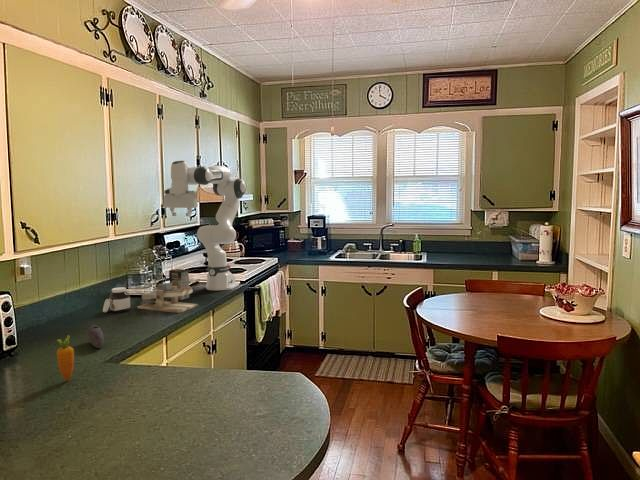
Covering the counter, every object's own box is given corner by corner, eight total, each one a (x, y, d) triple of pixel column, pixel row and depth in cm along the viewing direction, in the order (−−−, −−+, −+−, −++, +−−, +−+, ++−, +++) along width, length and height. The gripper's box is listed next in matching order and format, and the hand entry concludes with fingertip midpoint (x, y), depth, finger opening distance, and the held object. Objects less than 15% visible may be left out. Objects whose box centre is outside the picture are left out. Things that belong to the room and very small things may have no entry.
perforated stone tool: (107, 349, 188) (106, 332, 187) (92, 352, 185) (91, 334, 184) (100, 339, 200) (99, 323, 199) (86, 341, 197) (85, 325, 196)
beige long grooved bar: (153, 300, 260) (151, 288, 260) (193, 297, 250) (191, 284, 249) (143, 303, 253) (140, 291, 253) (183, 300, 242) (181, 288, 242)
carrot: (58, 385, 154) (55, 340, 152) (59, 379, 158) (55, 335, 156) (76, 382, 156) (72, 337, 154) (75, 376, 160) (72, 333, 159)
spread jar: (133, 310, 246) (131, 288, 245) (113, 315, 237) (111, 292, 236) (118, 307, 253) (117, 285, 251) (98, 312, 243) (97, 289, 242)
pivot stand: (157, 301, 264) (156, 283, 263) (197, 305, 254) (196, 287, 252) (137, 308, 250) (136, 289, 249) (179, 313, 240) (178, 293, 239)
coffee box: (169, 298, 272) (168, 270, 270) (178, 296, 277) (176, 268, 275) (181, 300, 267) (180, 271, 265) (190, 297, 273) (188, 269, 271)
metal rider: (163, 291, 254) (162, 283, 254) (172, 291, 252) (171, 282, 252) (158, 293, 251) (157, 285, 251) (167, 292, 248) (165, 284, 248)
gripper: (199, 190, 260) (200, 216, 261) (169, 190, 268) (170, 215, 269) (192, 190, 254) (193, 216, 255) (161, 190, 262) (162, 216, 263)
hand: (181, 216), depth 262 cm, fingers open, 8 cm apart
